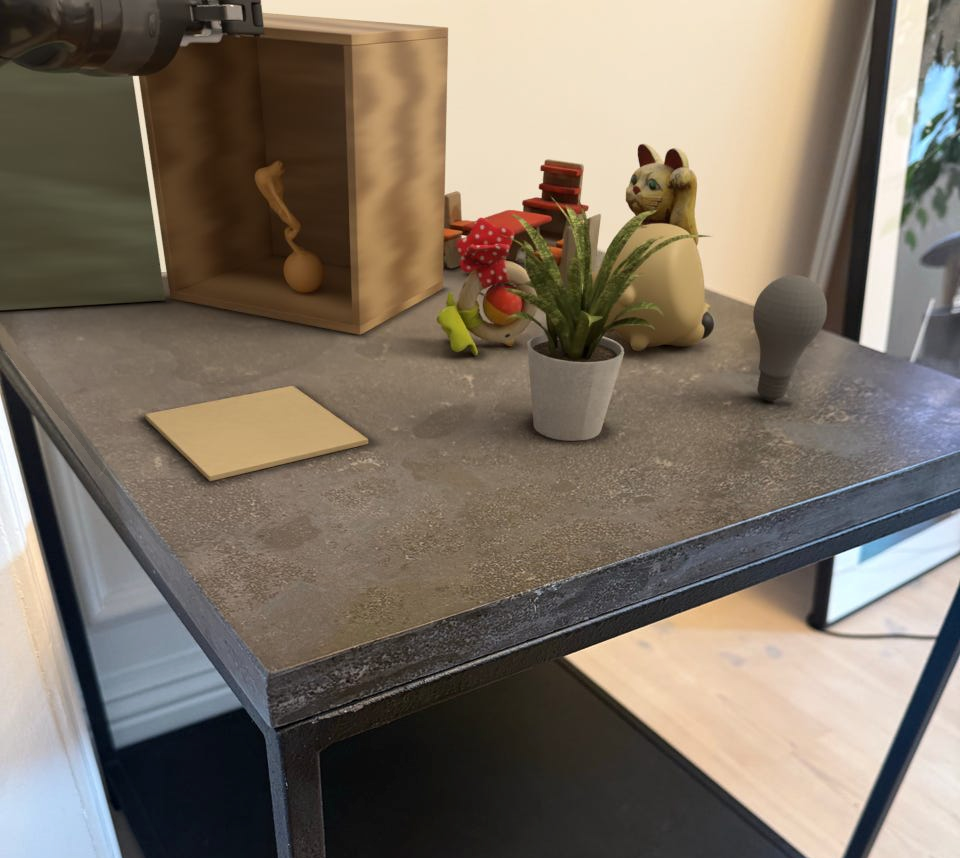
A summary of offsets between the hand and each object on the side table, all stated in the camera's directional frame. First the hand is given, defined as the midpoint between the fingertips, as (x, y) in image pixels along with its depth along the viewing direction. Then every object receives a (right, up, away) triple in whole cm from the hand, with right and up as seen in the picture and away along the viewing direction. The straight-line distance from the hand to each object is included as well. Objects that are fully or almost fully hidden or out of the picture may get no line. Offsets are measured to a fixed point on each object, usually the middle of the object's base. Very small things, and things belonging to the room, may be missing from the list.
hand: (198, 19), depth 76 cm
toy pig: (+39, -22, +13) cm, 46 cm away
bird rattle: (+23, -23, +11) cm, 34 cm away
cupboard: (+5, -14, +22) cm, 26 cm away
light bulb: (+47, -30, +3) cm, 56 cm away
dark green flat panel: (-20, -17, +16) cm, 30 cm away
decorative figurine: (+41, -14, +25) cm, 50 cm away
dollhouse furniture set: (+28, -6, +36) cm, 45 cm away
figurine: (+4, -15, +19) cm, 25 cm away
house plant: (+31, -34, -3) cm, 46 cm away
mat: (+6, -35, -7) cm, 36 cm away
